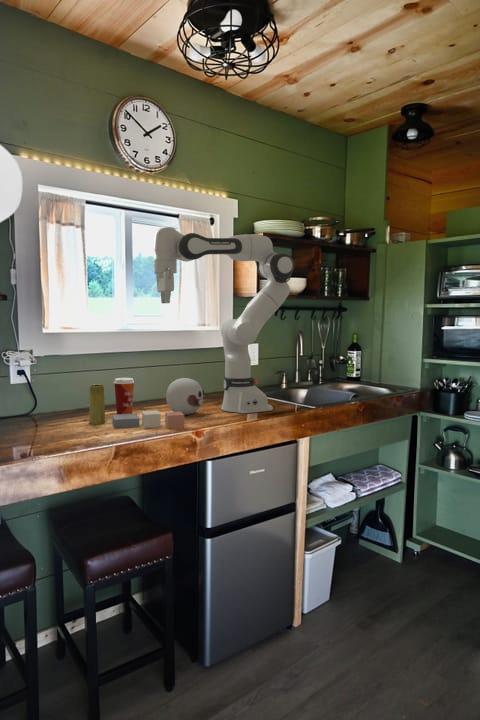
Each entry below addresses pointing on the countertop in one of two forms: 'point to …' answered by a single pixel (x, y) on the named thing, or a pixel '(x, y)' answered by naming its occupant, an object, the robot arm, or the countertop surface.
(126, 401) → the coffee cup
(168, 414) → the brick
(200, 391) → the toy
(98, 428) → the countertop surface
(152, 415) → the brick
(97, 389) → the vase
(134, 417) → the base
